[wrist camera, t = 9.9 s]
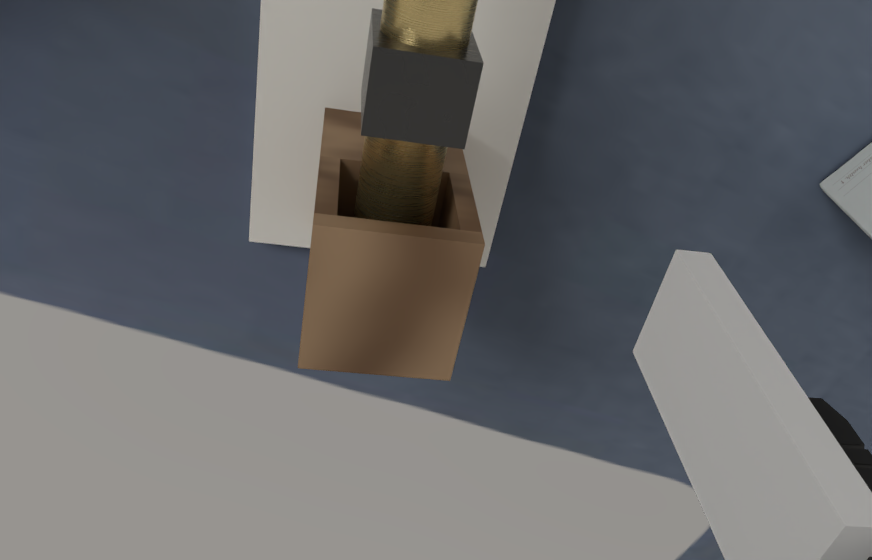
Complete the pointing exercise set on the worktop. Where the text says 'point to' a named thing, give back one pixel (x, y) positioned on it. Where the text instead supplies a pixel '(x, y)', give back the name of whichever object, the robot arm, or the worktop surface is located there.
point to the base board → (341, 89)
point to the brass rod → (414, 104)
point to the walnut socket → (386, 270)
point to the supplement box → (853, 188)
